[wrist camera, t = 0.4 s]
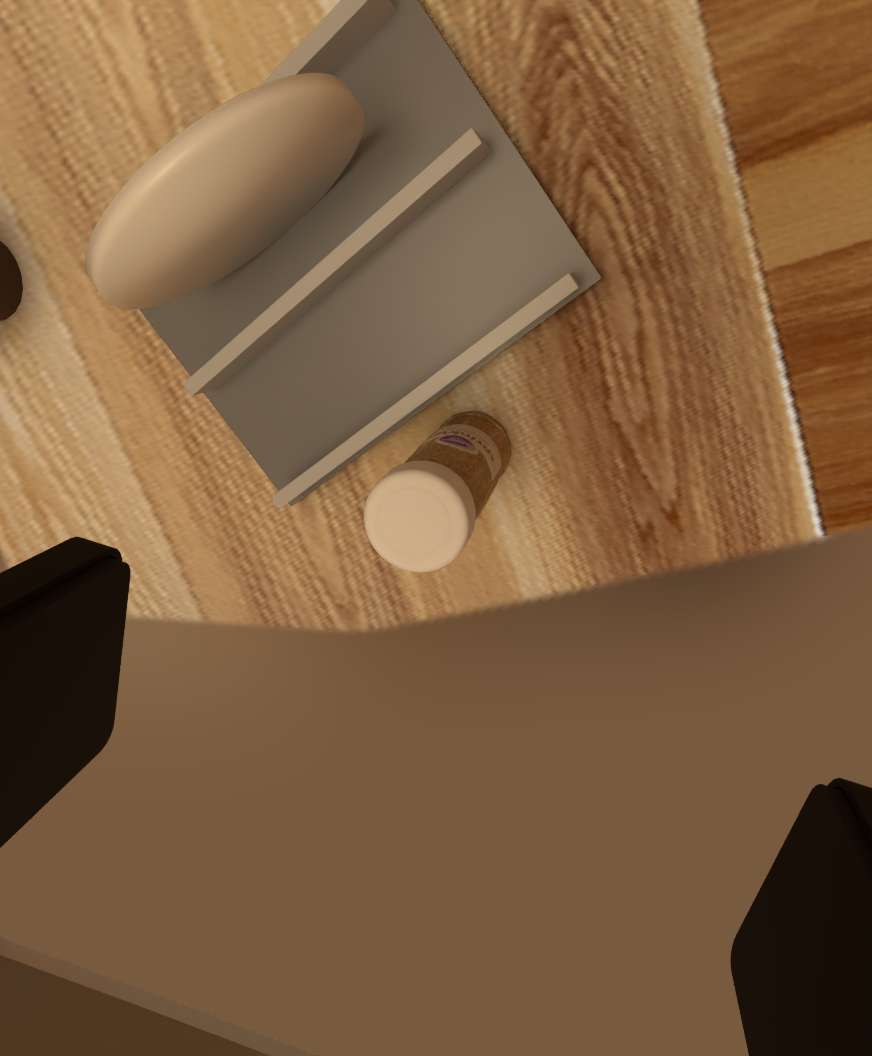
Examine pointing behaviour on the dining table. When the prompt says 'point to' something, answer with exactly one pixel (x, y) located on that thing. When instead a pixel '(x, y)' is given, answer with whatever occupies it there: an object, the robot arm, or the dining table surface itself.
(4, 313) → the dark brown tapered cylinder
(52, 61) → the dining table surface
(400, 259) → the dish rack
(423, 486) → the sprinkles bottle
